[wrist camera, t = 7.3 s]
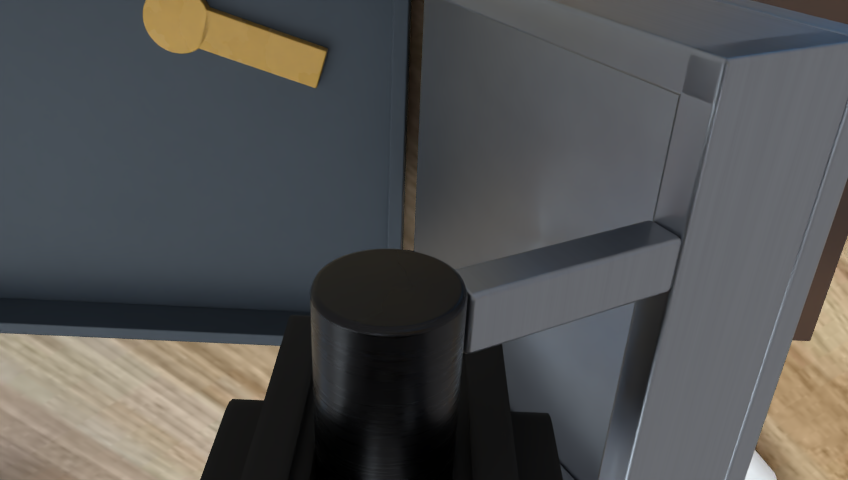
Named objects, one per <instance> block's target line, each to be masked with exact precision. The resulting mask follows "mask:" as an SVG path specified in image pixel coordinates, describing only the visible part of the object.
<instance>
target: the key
mask: <svg viewBox="0 0 848 480" xmlns="http://www.w3.org/2000/svg"><path fill="white" fill-rule="evenodd" d="M143 22H144V25H145V28H146V30H147V32H148V34H149V35H150V37H151V38H152V39H153V40H154V42H155V43H157V44H158V45H159V46H160V47H162V48H164V49H165V50H167V51H170V52H173V53H179V54H185V53H191V52H193V51H196V50H197V49H202V50H205V51H207V52H210V53H213V54H216V55H219V56H222V57H225V58H228V59H231V60H234V61H237V62H240V63H243V64H246V65H249V66H252V67H255V68H257V69H260V70H263V71H266V72H269V73H272V74H275V75H278V76H281V77H284V78H287V79H290V80H293V81H296V82H299V83H302V84H304V85H307V86H310V87H313V88H317V86H318V83H319V80H320V76H321V73H322V70H323V66H324V63H325V59H326V56H327V52H328V48H325V47H323V46H320V45H317V44H314V43H311V42H308V41H305V40H303V39H300V38H297V37H294V36H291V35H288V34H285V33H282V32H280V31H277V30H274V29H271V28H268V27H265V26H262V25H260V24H257V23H254V22H251V21H248V20H245V19H242V18H239V17H237V16H234V15H231V14H228V13H225V12H222V11H219V10H217V9H214V8H211V7H209V5H208V3H207V2H206V0H146V1H145V3H144V7H143Z"/></svg>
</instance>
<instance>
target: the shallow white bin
mask: <svg viewBox="0 0 848 480" xmlns="http://www.w3.org/2000/svg"><path fill="white" fill-rule="evenodd" d="M847 179H848V25H847V24H843V23H839V22H835V21H831V20H827V19H824V18H820V17H816V16H812V15H808V14H804V13H800V12H796V11H792V10H788V9H784V8H780V7H776V6H772V5H768V4H764V3H760V2H756V1H752V0H424V21H423V45H422V68H421V92H420V116H419V140H418V163H417V187H416V211H415V234H414V251H410V250H403V249H371V250H364V251H359V252H354V253H351V254H348V255H345V256H342V257H340V258H338V259H335V260H333V261H332V262H330V263H329V264H327V265H326V266H325V267H323V268H322V269H321V270H320V271H319V272H318V274H317V275H316V277H315V279H314V281H313V283H312V285H311V289H310V312H311V340H312V369H313V397H314V426H315V454H316V480H451V478H452V466H453V458H454V453H455V441H456V429H457V417H458V405H459V394H460V382H461V370H462V358H463V353H466V354H472V353H475V352H478V351H481V350H484V349H488V348H491V347H494V346H497V345H500V344H502V347H503V355H504V363H505V371H506V379H507V387H508V395H509V403H510V411H516V412H538V413H548V414H549V415H550V417H551V421H552V424H553V430H554V435H555V440H556V445H557V451H558V456H559V461H560V466H561V472H562V477H563V480H745V477H746V474H747V471H748V468H749V465H750V462H751V459H752V457H753V454H754V451H755V448H756V445H757V442H758V439H759V436H760V433H761V430H762V427H763V424H764V421H765V418H766V416H767V413H768V410H769V407H770V404H771V401H772V398H773V395H774V392H775V389H776V386H777V383H778V380H779V378H780V375H781V372H782V369H783V366H784V363H785V360H786V357H787V354H788V351H789V348H790V345H791V342H792V339H793V337H794V334H795V331H796V328H797V325H798V322H799V319H800V316H801V313H802V310H803V307H804V304H805V301H806V298H807V296H808V293H809V290H810V287H811V284H812V281H813V278H814V275H815V272H816V269H817V266H818V263H819V260H820V258H821V255H822V252H823V249H824V246H825V243H826V240H827V237H828V234H829V231H830V228H831V225H832V222H833V219H834V217H835V214H836V211H837V208H838V205H839V202H840V199H841V196H842V193H843V190H844V187H845V184H846V181H847Z"/></svg>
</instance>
